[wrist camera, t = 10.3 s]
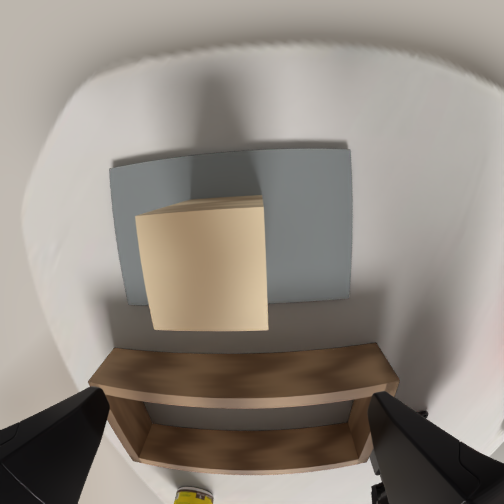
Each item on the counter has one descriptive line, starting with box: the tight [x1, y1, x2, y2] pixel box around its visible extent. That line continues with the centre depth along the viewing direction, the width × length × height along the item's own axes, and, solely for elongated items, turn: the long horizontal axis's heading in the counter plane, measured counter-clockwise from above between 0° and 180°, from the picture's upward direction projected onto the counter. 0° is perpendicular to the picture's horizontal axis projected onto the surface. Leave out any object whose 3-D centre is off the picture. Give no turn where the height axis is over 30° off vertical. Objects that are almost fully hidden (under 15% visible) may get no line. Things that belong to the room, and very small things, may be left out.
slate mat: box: [109, 149, 352, 305], centre depth 17 cm, size 16×10×1 cm, turn 93°
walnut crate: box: [88, 343, 400, 475], centre depth 19 cm, size 22×11×5 cm, turn 93°
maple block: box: [135, 195, 268, 331], centre depth 13 cm, size 4×4×8 cm
